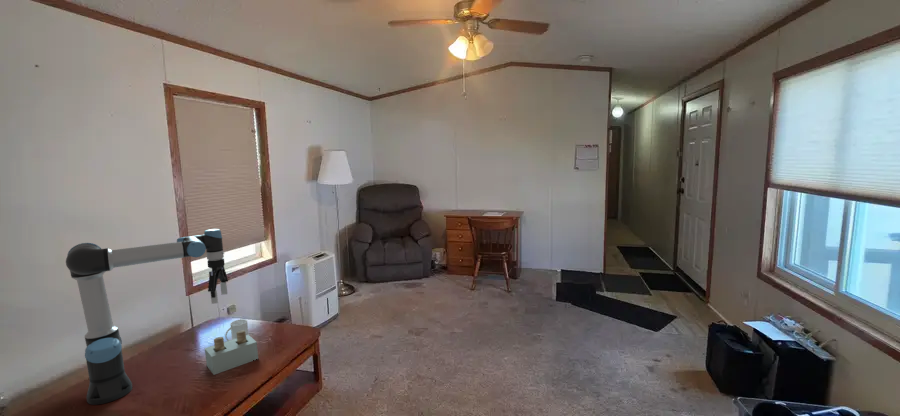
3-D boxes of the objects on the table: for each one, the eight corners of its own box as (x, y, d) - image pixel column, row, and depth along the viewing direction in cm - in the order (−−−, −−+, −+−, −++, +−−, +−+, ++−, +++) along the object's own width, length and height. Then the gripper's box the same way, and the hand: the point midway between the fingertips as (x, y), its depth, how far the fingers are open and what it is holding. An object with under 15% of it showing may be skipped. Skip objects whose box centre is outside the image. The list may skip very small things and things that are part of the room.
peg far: (239, 349, 200) (237, 334, 199) (236, 347, 203) (235, 332, 202) (248, 347, 203) (246, 331, 202) (245, 344, 206) (243, 329, 204)
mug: (229, 350, 212) (227, 329, 210) (223, 346, 218) (220, 325, 216) (252, 342, 221) (250, 321, 219) (245, 338, 226) (243, 317, 225)
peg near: (216, 357, 193) (215, 341, 192) (214, 354, 196) (212, 338, 195) (226, 354, 196) (224, 338, 195) (223, 351, 199) (221, 336, 198)
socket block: (213, 374, 189) (211, 356, 188) (206, 365, 198) (204, 348, 196) (258, 358, 203) (256, 341, 202) (250, 350, 211) (248, 334, 210)
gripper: (214, 264, 198) (218, 306, 201) (231, 252, 222) (235, 290, 225) (197, 266, 196) (202, 307, 199) (216, 253, 221) (220, 291, 224)
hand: (219, 298), depth 212 cm, fingers open, 13 cm apart
